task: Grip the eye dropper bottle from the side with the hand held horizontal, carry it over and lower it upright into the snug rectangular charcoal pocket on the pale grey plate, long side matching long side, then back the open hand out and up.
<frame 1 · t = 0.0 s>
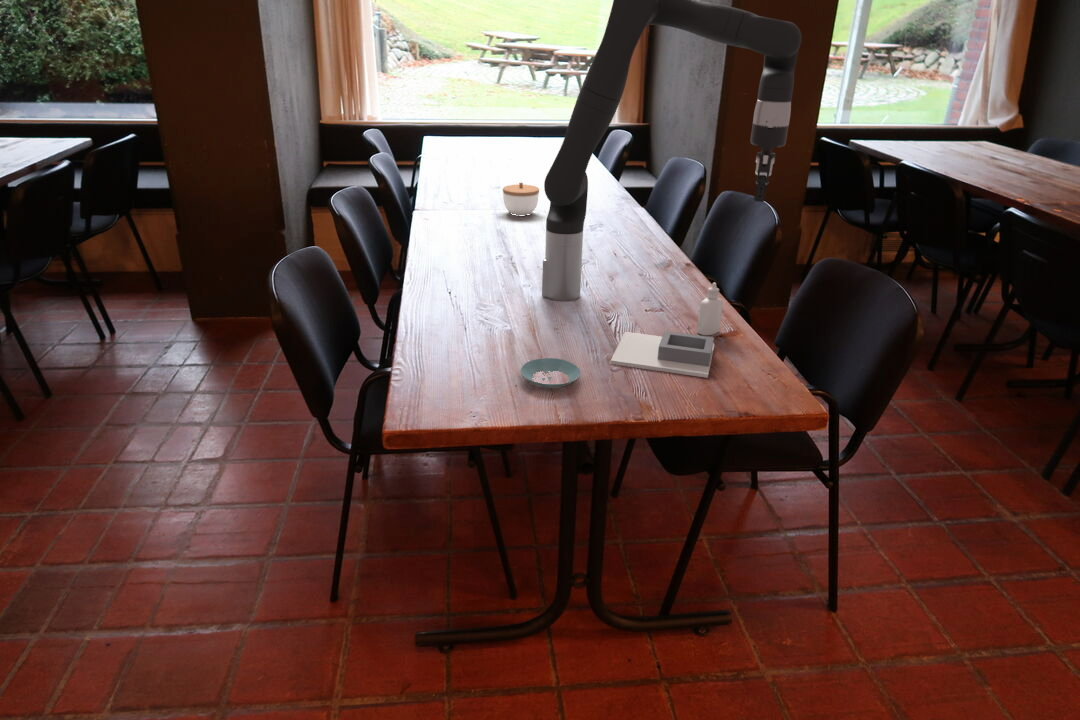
hand: (759, 196, 170), 29 cm above the table, tool pointing down, fingers open, 8 cm apart
lidded bowl: (520, 214, 266), on the table
eye dropper bottle: (707, 333, 174), on the table
saucer: (550, 381, 150), on the table
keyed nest: (663, 355, 162), on the table
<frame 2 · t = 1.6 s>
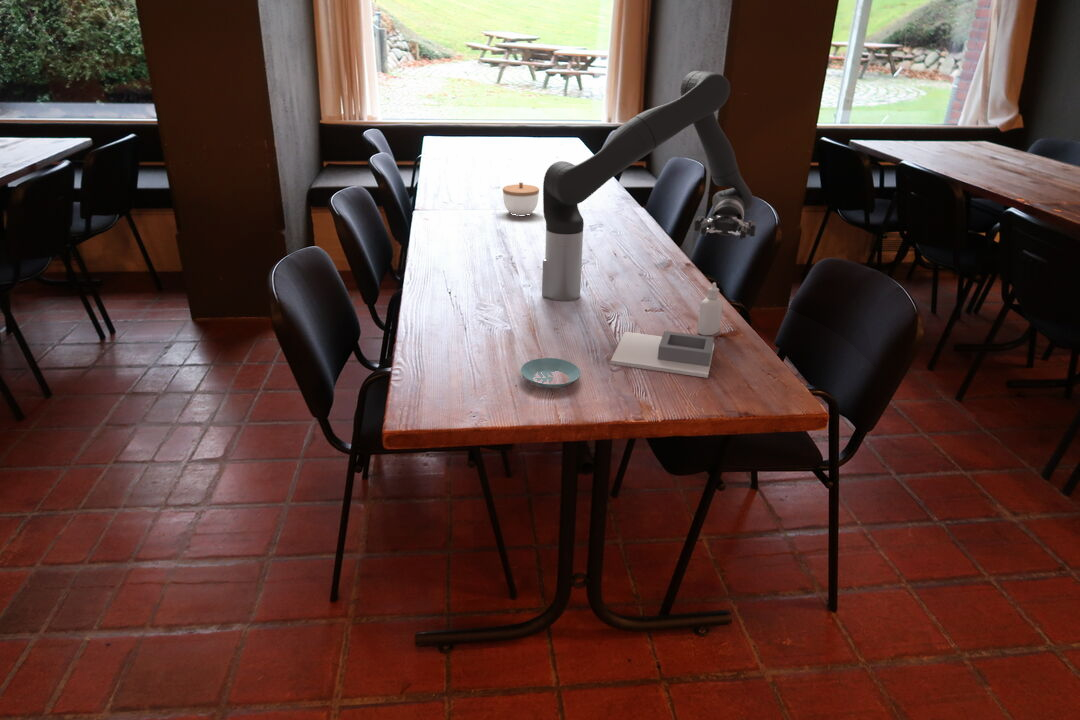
hand: (722, 233, 175), 20 cm above the table, tool horizontal, fingers open, 8 cm apart
nothing on the table moved.
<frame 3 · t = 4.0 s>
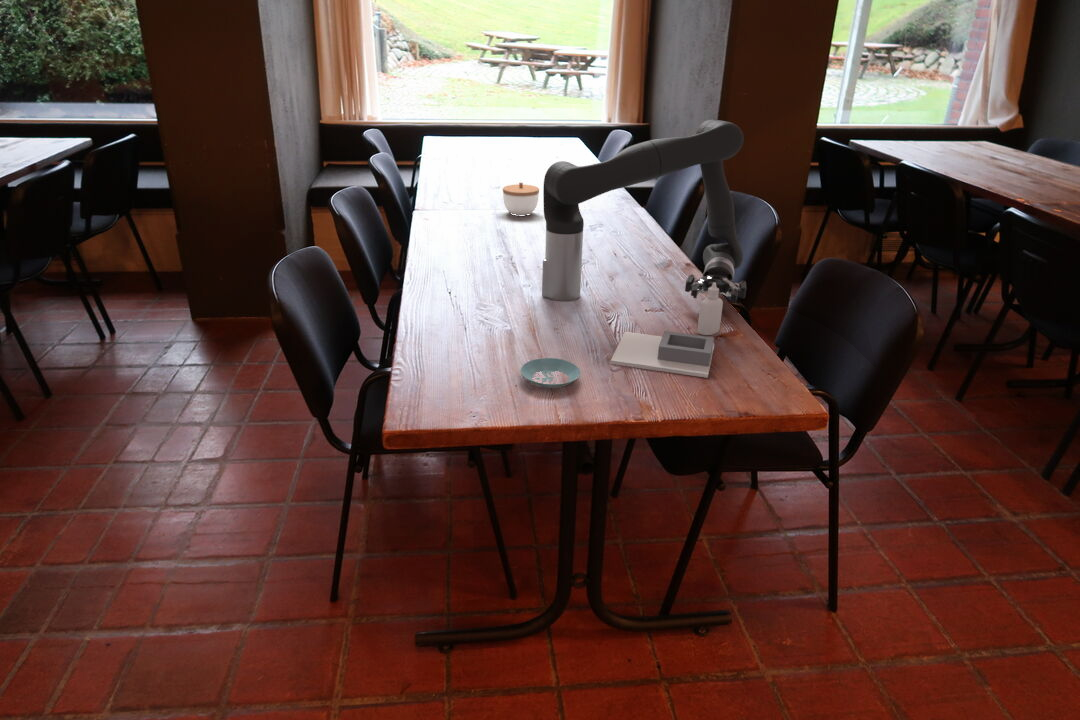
hand: (713, 296, 176), 6 cm above the table, tool horizontal, fingers open, 8 cm apart
nothing on the table moved.
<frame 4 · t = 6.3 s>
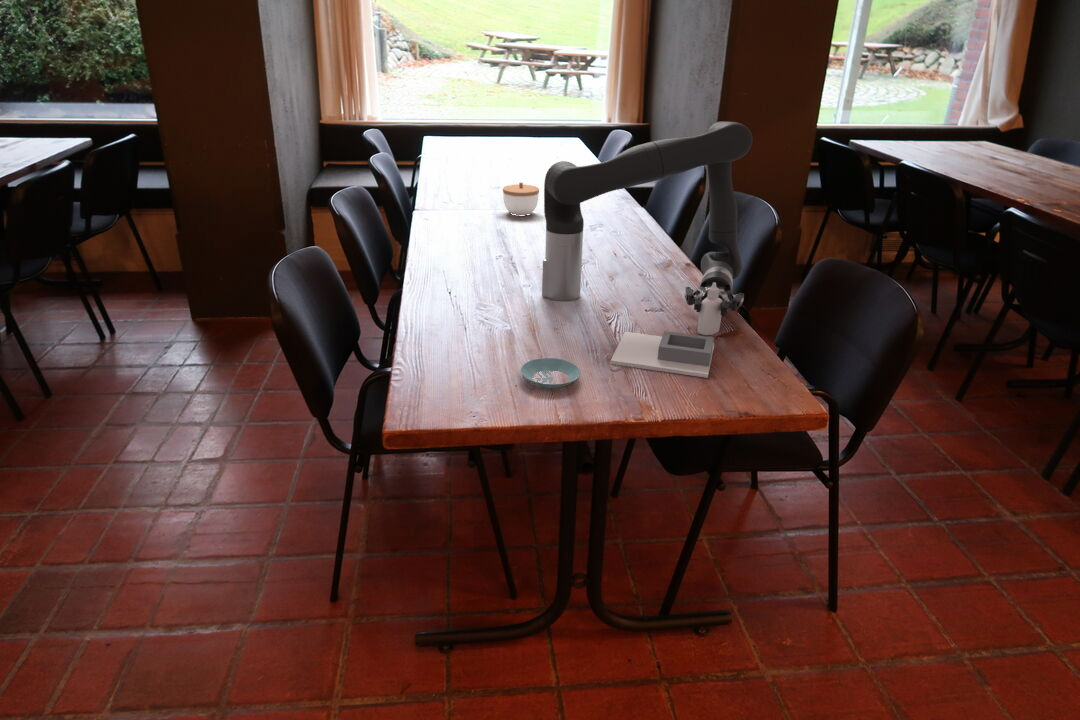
hand: (710, 309, 169), 7 cm above the table, tool horizontal, fingers closed on eye dropper bottle, 4 cm apart
eye dropper bottle: (708, 332, 174), on the table, touching gripper
everything else where it was.
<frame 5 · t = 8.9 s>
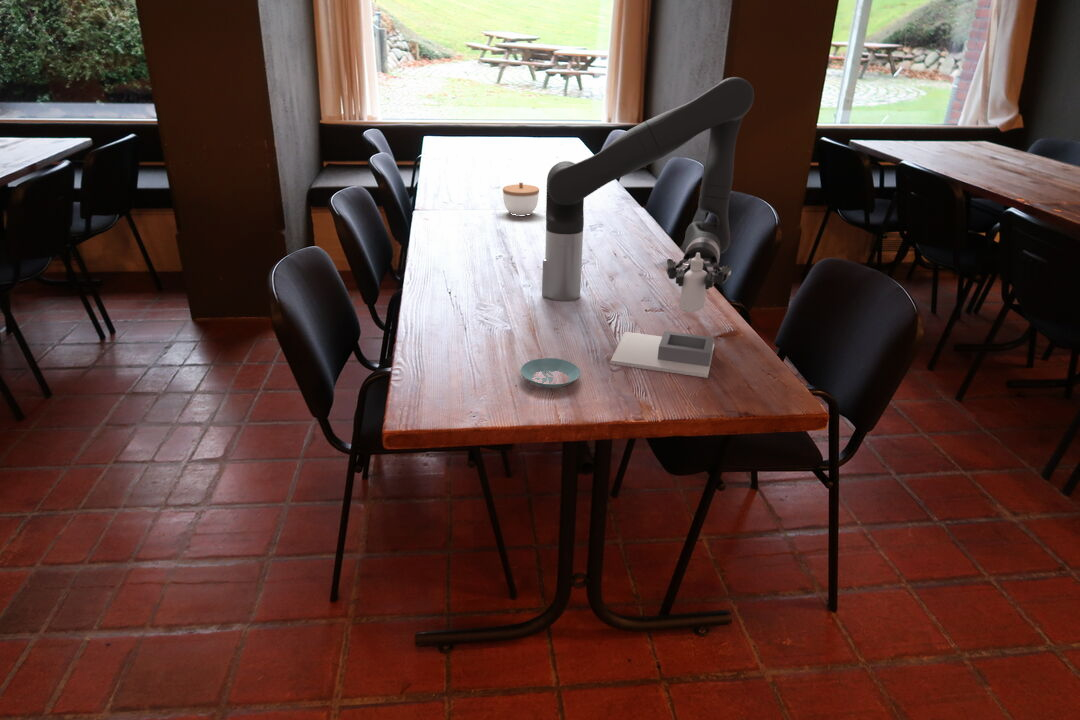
hand: (694, 283, 151), 18 cm above the table, tool horizontal, fingers closed on eye dropper bottle, 4 cm apart
eye dropper bottle: (691, 309, 156), point 11 cm above the table, touching gripper
everything else where it was.
when the fingers open (10 cm above the table, at t = 11.5 s): eye dropper bottle stays where it is, resting on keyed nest.
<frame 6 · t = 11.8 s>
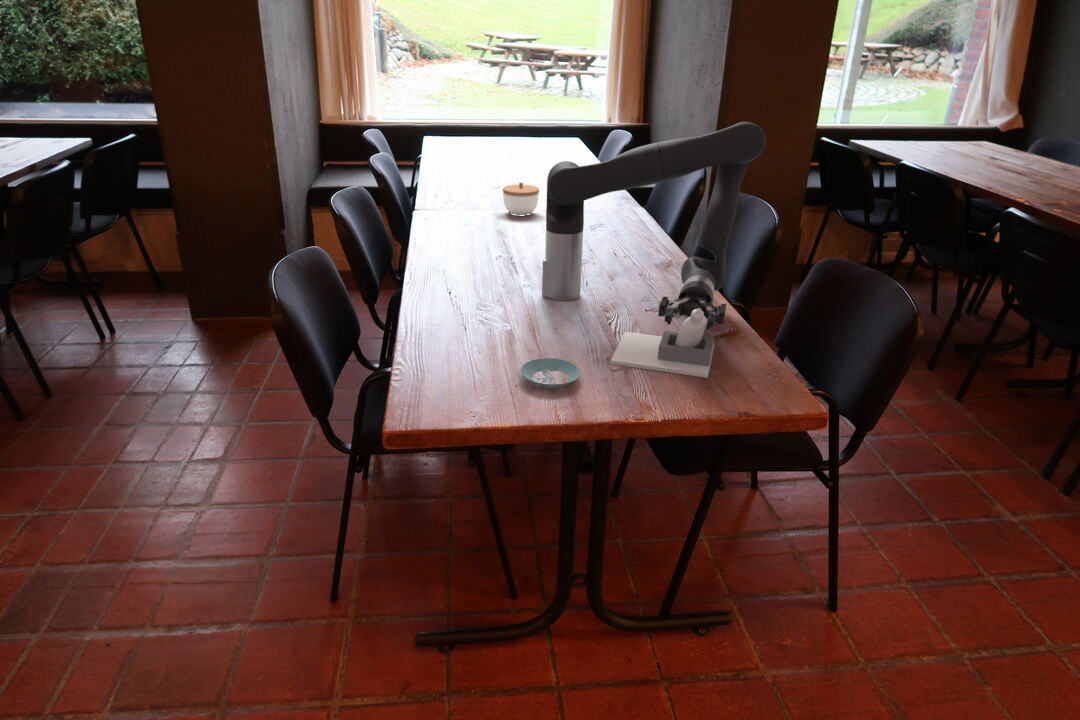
hand: (688, 322, 155), 9 cm above the table, tool horizontal, fingers open, 7 cm apart
eye dropper bottle: (687, 343, 160), point 3 cm above the table, touching gripper, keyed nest
everything else where it was.
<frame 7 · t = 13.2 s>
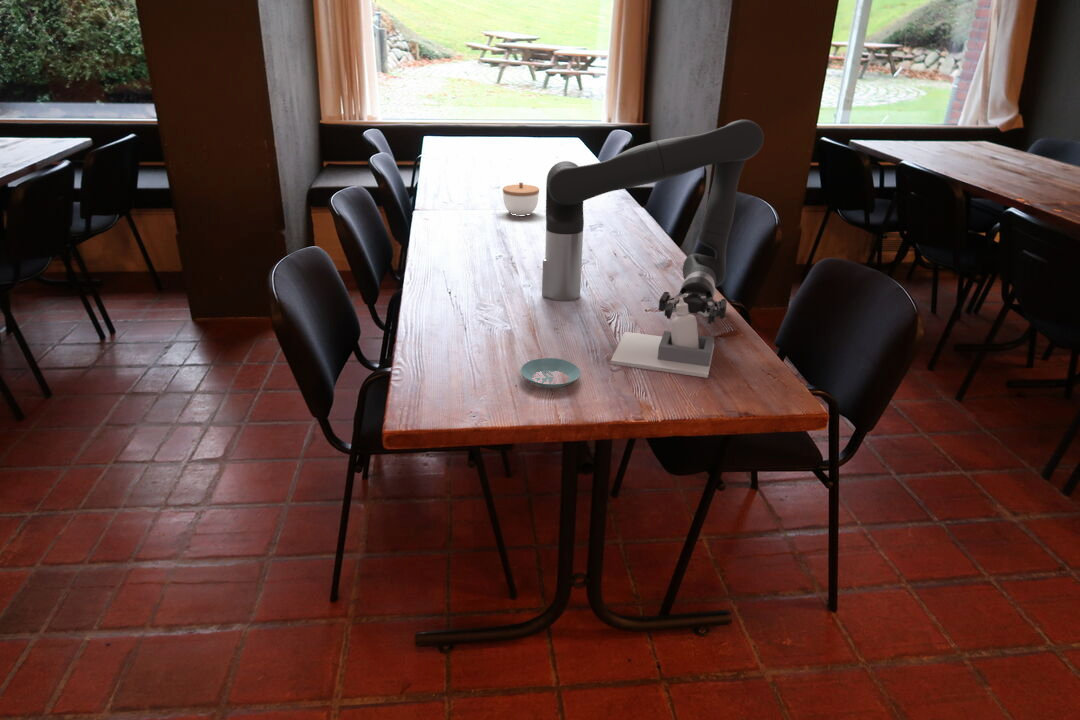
hand: (689, 317, 158), 9 cm above the table, tool horizontal, fingers open, 8 cm apart
eye dropper bottle: (686, 354, 160), point 1 cm above the table, touching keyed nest
everything else where it was.
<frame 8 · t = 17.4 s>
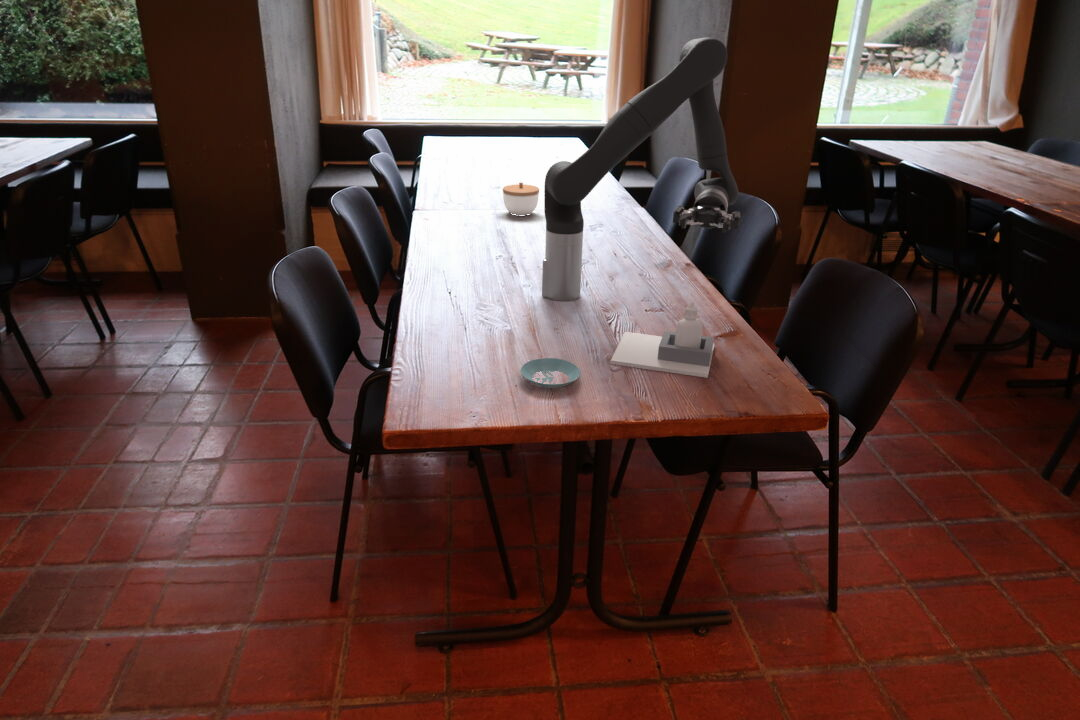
hand: (703, 225, 159), 26 cm above the table, tool horizontal, fingers open, 8 cm apart
at the end: eye dropper bottle 0.3 cm from the target spot on the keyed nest, point 0.6 cm above the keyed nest's base; eye dropper bottle tilted 0°; the gripper is holding nothing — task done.
